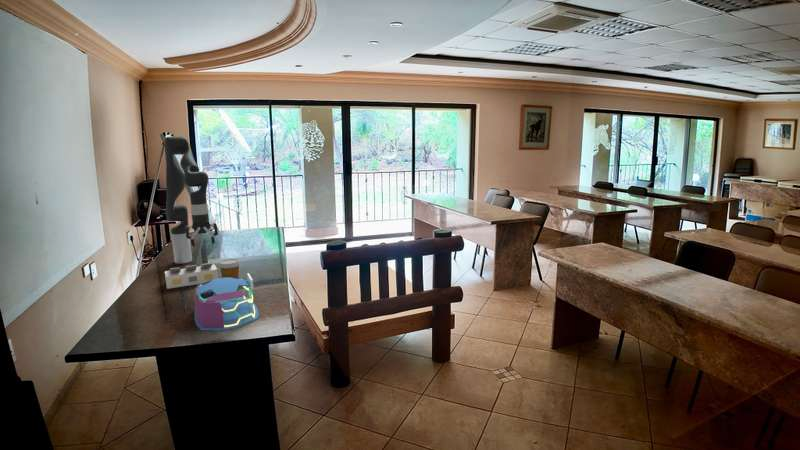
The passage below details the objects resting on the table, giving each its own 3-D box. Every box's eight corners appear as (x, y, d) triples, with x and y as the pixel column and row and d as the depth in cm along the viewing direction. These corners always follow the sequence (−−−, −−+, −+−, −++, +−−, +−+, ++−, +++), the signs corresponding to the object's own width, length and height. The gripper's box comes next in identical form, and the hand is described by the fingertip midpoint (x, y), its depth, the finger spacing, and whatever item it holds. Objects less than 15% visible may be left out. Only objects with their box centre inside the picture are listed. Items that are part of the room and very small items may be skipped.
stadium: (192, 304, 190) (188, 273, 187) (249, 295, 201) (247, 265, 198) (197, 336, 159) (193, 299, 156) (264, 323, 170) (261, 288, 167)
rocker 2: (185, 268, 219) (185, 266, 219) (195, 267, 221) (194, 264, 221) (186, 269, 212) (186, 266, 212) (196, 268, 214) (196, 265, 214)
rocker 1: (169, 270, 216) (169, 268, 216) (179, 269, 218) (179, 266, 218) (170, 271, 209) (169, 269, 209) (180, 270, 211) (180, 267, 211)
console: (166, 282, 217) (164, 269, 216) (215, 275, 228) (214, 262, 227) (167, 289, 208) (165, 275, 207) (218, 280, 220) (217, 267, 218)
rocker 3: (200, 266, 223) (200, 263, 223) (210, 265, 225) (209, 262, 225) (202, 267, 216) (201, 264, 216) (211, 266, 218) (211, 263, 218)
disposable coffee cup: (245, 282, 216) (243, 259, 214) (232, 289, 208) (230, 265, 205) (229, 280, 219) (227, 257, 217) (216, 287, 211) (214, 263, 208)
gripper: (214, 210, 219) (217, 241, 222) (183, 213, 212) (186, 245, 215) (216, 212, 212) (219, 245, 215) (184, 215, 205) (187, 248, 209)
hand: (203, 245), depth 215 cm, fingers open, 8 cm apart
